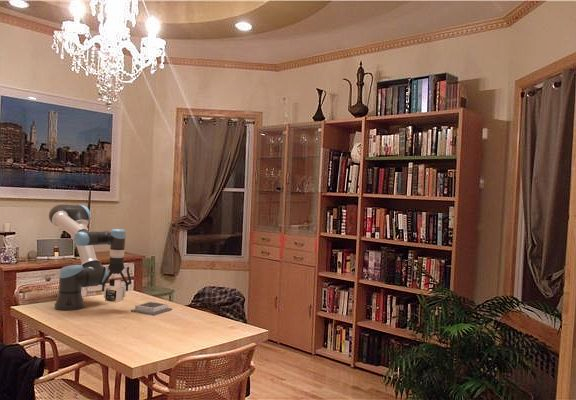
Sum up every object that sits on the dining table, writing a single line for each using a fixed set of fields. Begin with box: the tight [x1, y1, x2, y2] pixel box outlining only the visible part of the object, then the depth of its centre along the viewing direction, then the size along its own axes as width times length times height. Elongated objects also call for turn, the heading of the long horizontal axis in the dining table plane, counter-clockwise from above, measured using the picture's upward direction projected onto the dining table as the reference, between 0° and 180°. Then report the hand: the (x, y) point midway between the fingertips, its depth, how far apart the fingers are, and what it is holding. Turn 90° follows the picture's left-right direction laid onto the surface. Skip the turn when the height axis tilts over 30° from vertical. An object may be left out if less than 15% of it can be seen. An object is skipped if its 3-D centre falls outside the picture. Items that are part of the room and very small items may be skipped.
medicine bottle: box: [104, 278, 125, 303], centre depth 261 cm, size 7×7×12 cm
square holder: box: [130, 301, 173, 316], centre depth 266 cm, size 16×16×3 cm
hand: (114, 296), depth 261 cm, fingers closed on medicine bottle, 10 cm apart
